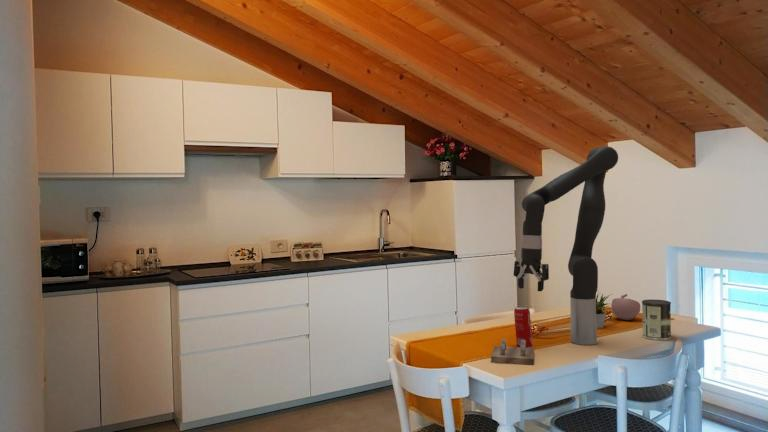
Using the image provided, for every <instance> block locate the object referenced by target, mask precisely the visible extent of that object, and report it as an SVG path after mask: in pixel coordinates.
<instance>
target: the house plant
mask: <svg viewBox="0 0 768 432" xmlns="http://www.w3.org/2000/svg"><path fill="white" fill-rule="evenodd" d="M600 294H601V292H596V319H597V329H604V326H605V321H606V314H607V313H606V312H605V310H606V308H608V307H609V305H608V303H604V302H605V301H606V300H607V299H608V298H609V297H610V296H611V295H613V293H610V294H609V295H605V296H604V293H602V294H601V296H600V299H598V298H599V295H600ZM598 300H599V301H598Z"/></svg>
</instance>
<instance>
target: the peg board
mask: <svg viewBox="0 0 768 432" xmlns="http://www.w3.org/2000/svg"><path fill="white" fill-rule="evenodd" d="M490 358H491V359H490V363H491V362H497V363H496V364H509V363H514V365H530V366H534V365H535V364H534V363H535V347H532V348H526V340H521V345H520V347H517V346H515V347H513V346H507V339H506V338H502V339H501V343H499V346H496V345H495V346H494V347H493V350H492V352H491V355H490Z"/></svg>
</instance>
